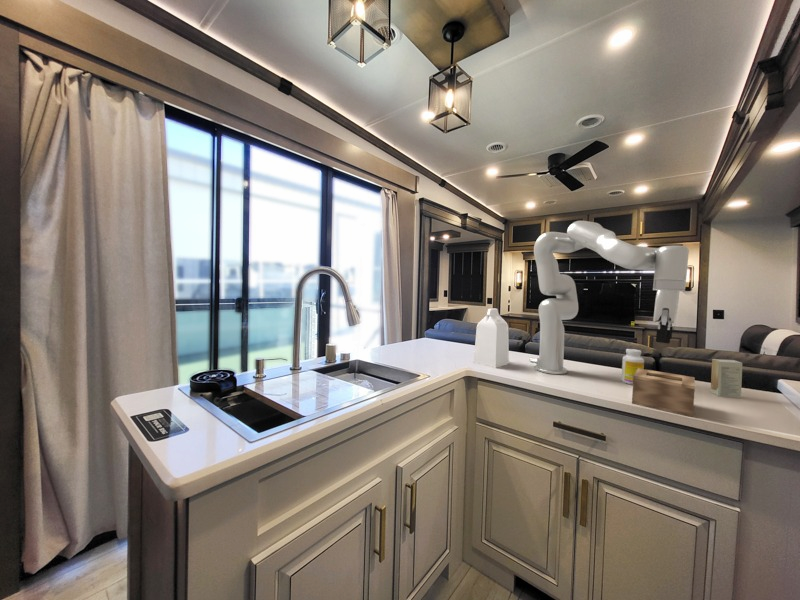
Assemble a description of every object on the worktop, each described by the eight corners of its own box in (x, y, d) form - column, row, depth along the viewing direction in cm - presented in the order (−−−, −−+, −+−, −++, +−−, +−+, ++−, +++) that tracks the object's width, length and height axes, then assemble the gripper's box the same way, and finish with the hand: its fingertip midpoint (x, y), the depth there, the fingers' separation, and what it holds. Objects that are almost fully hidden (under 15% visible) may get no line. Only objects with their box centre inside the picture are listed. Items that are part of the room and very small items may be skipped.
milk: (487, 359, 153) (488, 307, 151) (508, 363, 144) (510, 309, 143) (473, 363, 145) (475, 308, 143) (495, 368, 136) (497, 310, 135)
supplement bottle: (646, 386, 114) (648, 352, 113) (626, 385, 115) (628, 351, 114) (636, 380, 120) (638, 348, 120) (617, 379, 122) (619, 347, 121)
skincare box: (732, 394, 106) (735, 359, 106) (741, 398, 102) (744, 362, 102) (709, 392, 109) (711, 358, 108) (717, 396, 104) (719, 361, 104)
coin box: (631, 403, 97) (633, 375, 96) (636, 393, 106) (638, 368, 105) (692, 417, 87) (694, 386, 87) (692, 405, 96) (694, 377, 95)
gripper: (655, 285, 103) (651, 335, 105) (650, 285, 91) (645, 342, 92) (685, 286, 98) (680, 338, 99) (684, 286, 86) (678, 346, 87)
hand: (663, 340), depth 96 cm, fingers open, 9 cm apart
